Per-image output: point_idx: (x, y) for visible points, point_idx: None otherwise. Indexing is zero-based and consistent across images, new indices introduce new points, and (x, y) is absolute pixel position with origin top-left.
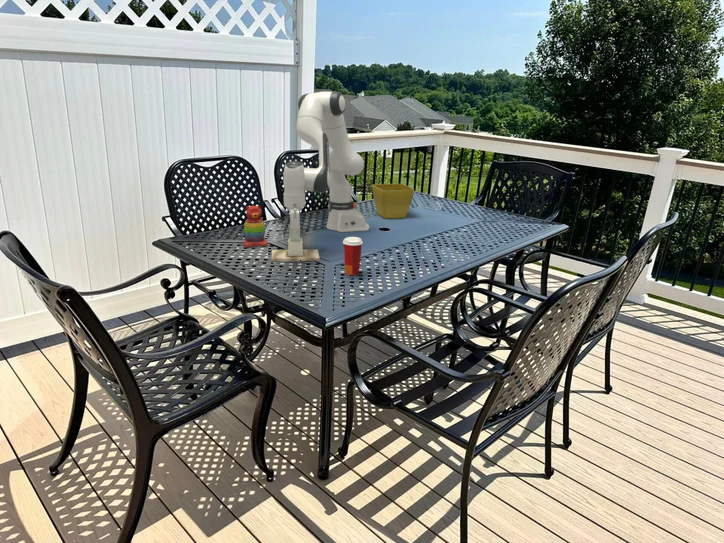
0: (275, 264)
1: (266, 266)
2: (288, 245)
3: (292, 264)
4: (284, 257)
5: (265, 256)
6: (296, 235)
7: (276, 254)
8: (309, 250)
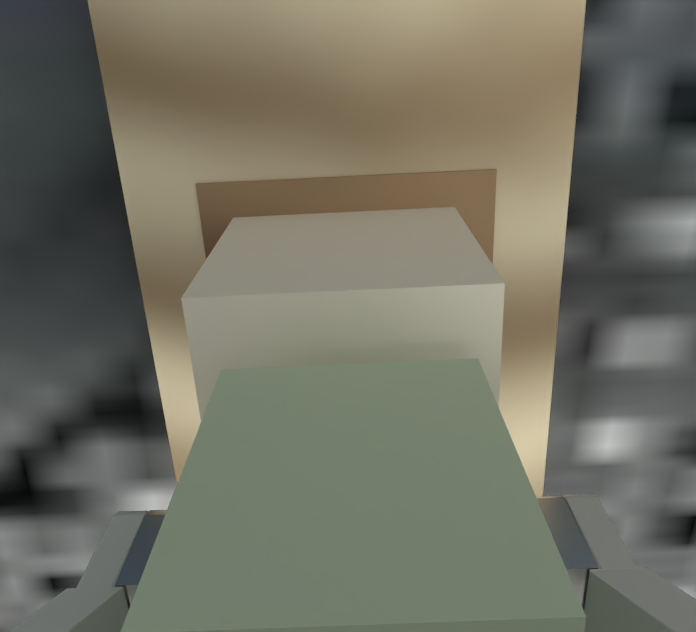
0: (630, 503)
1: (678, 577)
2: None
3: (668, 325)
4: None
5: None
6: (592, 510)
7: None
8: (164, 94)
